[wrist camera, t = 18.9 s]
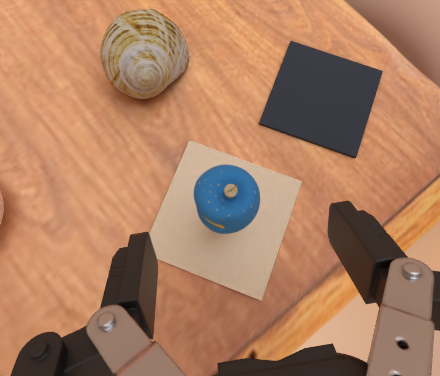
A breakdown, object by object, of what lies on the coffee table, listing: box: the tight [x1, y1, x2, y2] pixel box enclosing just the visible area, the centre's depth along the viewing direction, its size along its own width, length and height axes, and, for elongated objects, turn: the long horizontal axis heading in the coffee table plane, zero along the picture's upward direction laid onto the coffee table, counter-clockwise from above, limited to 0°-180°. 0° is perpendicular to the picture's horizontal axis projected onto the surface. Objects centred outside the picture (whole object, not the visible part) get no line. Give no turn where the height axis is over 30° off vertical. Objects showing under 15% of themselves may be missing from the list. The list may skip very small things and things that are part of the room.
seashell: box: [100, 9, 189, 99], centre depth 37 cm, size 10×10×10 cm
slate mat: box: [259, 41, 383, 158], centre depth 39 cm, size 12×12×1 cm
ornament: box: [194, 165, 260, 234], centre depth 29 cm, size 5×5×15 cm
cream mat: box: [149, 140, 302, 301], centre depth 36 cm, size 14×14×1 cm
